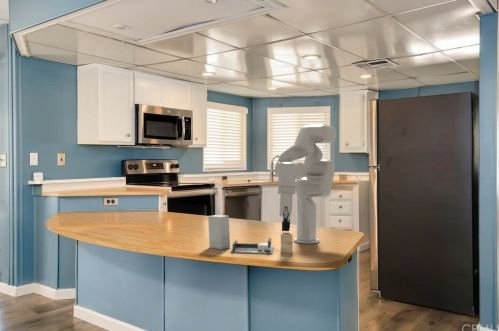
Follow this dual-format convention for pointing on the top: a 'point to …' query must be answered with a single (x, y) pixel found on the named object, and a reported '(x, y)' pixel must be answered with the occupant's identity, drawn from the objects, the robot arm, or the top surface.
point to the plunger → (265, 246)
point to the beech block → (286, 242)
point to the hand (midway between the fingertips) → (286, 229)
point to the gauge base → (249, 248)
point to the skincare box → (219, 231)
